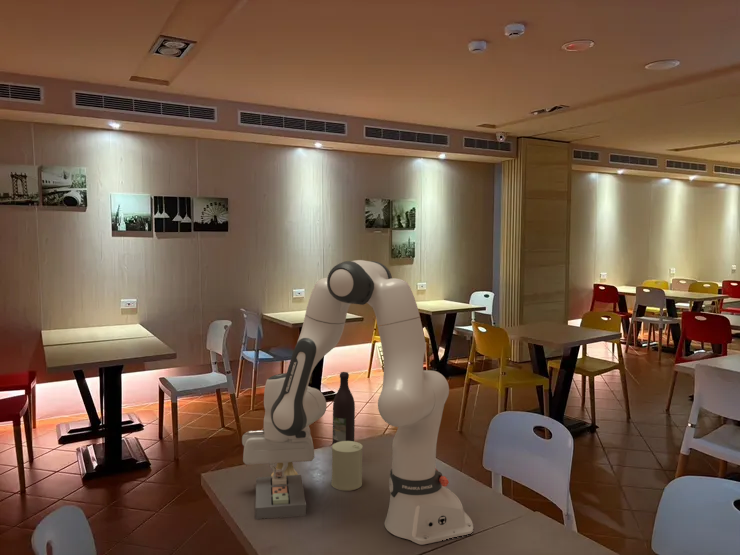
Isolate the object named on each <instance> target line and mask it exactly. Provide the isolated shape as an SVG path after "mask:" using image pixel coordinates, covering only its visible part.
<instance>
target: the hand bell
mask: <svg viewBox="0 0 740 555" xmlns="http://www.w3.org/2000/svg"><path fill="white" fill-rule="evenodd" d="M293 463H294V462H288V467H287V468H286V470H285V471H284V475H286V476H289V475H299V473H298V472H297V471H296V470H295V467H294V464H293ZM282 467H283V463H276V466H275V469H282ZM272 475H274V472H273V471H272V473H271V475H270V477H272Z"/></svg>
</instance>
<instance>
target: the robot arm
mask: <svg viewBox="0 0 740 555" xmlns="http://www.w3.org/2000/svg"><path fill="white" fill-rule="evenodd" d="M392 276H393V275H392V273H391V271H390V270H389V268H388V267H387V266H386V265H384V264H383V263H381V262H378V261H375V260H364V259H357V260H355V259H354V260H347V261H342V262H339V263H338V264H336V265H334V266H333V267H332V268H331V270H330V271H329V272H328V275H327V277H322V278H320V279H318V280H317V281H316V283H315V284H314V286H313V289H312V291H311V294H310V296H309V299H308V302H307V306H306V310H305V315H304V319H303V323H302V327H301V331H300V332H299V333H300V334H299V337H298V339H297V342H296V344H295V347H294V350H293V352H292V356H291V357H290V361H289V364H288V368H287V371H286V372H283V373H278V374H274V375H271V376H270V377H268V378H267V379H266V381H265V385H264V389H263V390H264V391H263V392H264V393H263V395H264V396H263V406H264V411H265V412H264V416H263V417H264V418H263V429H261V430H248V431H247V432H245V433H243V435H242V437H241V444H242V446H243V454H242V456H243V457H242V461H243V463H244V464H245V465H258V464H259V465H263V464H266V465H267V464H269V467H270V469H271V470H272V473H273V472H274V478H275V477H284V471H285V470H286V468H287V467H288V462H292V463H301V462H312V461H313V460H314V459H315V448H314V443H313V438H312V435H311V429H310V425H312V424H314V422H315V423H316V422H317V421H318V420H320V419H321V418H322V417H323V416H324V415H325V413H326V411H327V399H326V397H325V395H324V394H323V392H322V390H320V389H318V388H316V387H311V386H309V383H310V380H311V377H312V373H313V371H314V369H315V367H316V366H317V365H318V363H319V362H320V361H321V360H322V359H323V358H324V357H325V356H326V355H327V354H328V353H329V352H331V351H332V350H333V349H335V348H336V347H337V345H338V343H339V342H340V340H341V337H342V335H343V332H344V329H345V324H346V320H347V315H348V311H349V308H350V306H351V305H360V306H361V305H362V306H364V305H365V304H368V305H369V306H370V307H371V308H372V309H373V312H374V315H375V319H376V325H377V329H378V334H379V339H380V345H381V349H382V356H383V379H382V387H381V388H382V389H381V392H380V394H379V397H378V400H377V410H378V412H379V415H380V417H381V418H382V420H383V421H384V422H386V424H388V425H390V426H392V427H394V428H396V427H397V430H396V432H395V434H394V436H393V439H392V443H391V444H392V446H391V447H392V449H391V450H392V452H391V454H392V458H391V469H390V471H389V472H390V473H389V482H388V483H389V493H390V496H389V497H390V498H389V503H388V508H387V514H386V516H385V519H384V527H385V529H386V530H387V531H388V532H389V533H390V534H392V535H394V536H395V537H397V538H402V539H406V540H408V541H412V542H413V543H415V544H418V545H421V546H422V545H427V544H432V543H437V542H442V540H443V541H447V540H446V539H448V540H450V539H449V538H452V537H457V536H460V535H466V534H469V533H472V532H473V533H474V530H473V529H474V523H473V521H472V519H471V517H470V516H469V514H467V513H466V512H465V510H464V507H463V504H462V501H461V500H460V498H459V497H458V496H457V495H456V494H455V493H454V492H453V491H452V490H450V489H449V488H448V486H449V484H450V483H449V479H447V478H448V477H446V476H444V475H443V473H441V471H439V470H438V469H437V468H436V466H437V465H436V464H437V463H436V461H437V460H436V459H437V457H436V456H437V444H438V443H437V442H438V436H439V431H440V427H441V422H442V418H443V412H444V407H445V404H446V402H447V400H448V397H449V394H450V386H449V383H448V380H447V379H446V377H445V376H444V375H443V374H442V373H440V372H439V371H436V370H429V369H428V370H425V369H424V358H425V355H426V351H427V343H426V338H425V332H424V330H423V325H422V321H421V316H420V312H419V311H420V310H419V308H418V304H417V302H416V299H415V295H414V293H413V291H412V288H411V286H410V285H409V283H408V281H406V280H404V279H401V278H394V277H392ZM277 463H283V467H282V469H276V464H277ZM469 526H470V527H469ZM473 533H472V534H473ZM457 538H458V537H457ZM452 539H453V538H452Z"/></svg>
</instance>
